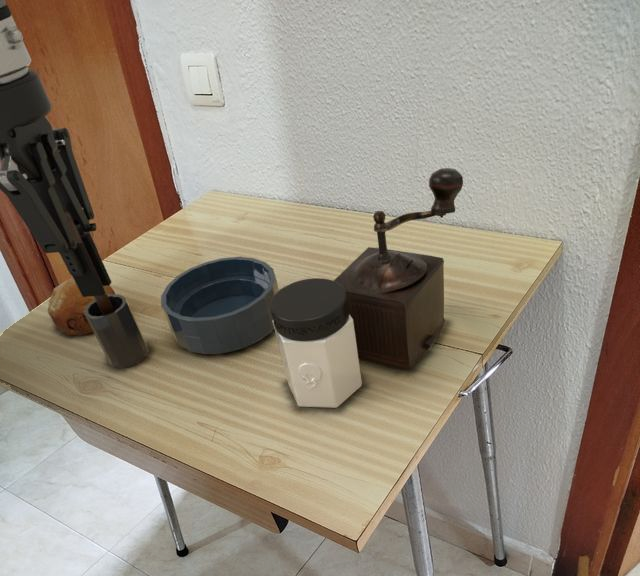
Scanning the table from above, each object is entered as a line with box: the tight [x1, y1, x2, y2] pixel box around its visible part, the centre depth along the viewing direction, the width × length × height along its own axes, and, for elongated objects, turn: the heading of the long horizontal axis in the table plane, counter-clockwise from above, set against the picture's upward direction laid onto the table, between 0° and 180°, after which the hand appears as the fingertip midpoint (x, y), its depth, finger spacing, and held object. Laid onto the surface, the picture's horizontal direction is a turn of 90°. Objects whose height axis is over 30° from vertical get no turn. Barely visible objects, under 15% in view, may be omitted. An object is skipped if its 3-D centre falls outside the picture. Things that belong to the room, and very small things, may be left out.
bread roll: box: [47, 277, 116, 336], centre depth 88 cm, size 10×10×8 cm
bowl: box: [160, 256, 280, 355], centre depth 80 cm, size 15×15×6 cm
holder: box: [84, 293, 149, 369], centre depth 77 cm, size 5×6×8 cm
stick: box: [63, 210, 115, 315], centre depth 73 cm, size 2×2×20 cm
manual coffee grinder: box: [333, 167, 464, 371], centre depth 69 cm, size 16×11×18 cm
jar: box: [270, 277, 363, 409], centre depth 65 cm, size 9×8×12 cm
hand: (97, 289), depth 73 cm, fingers closed on stick, 1 cm apart
